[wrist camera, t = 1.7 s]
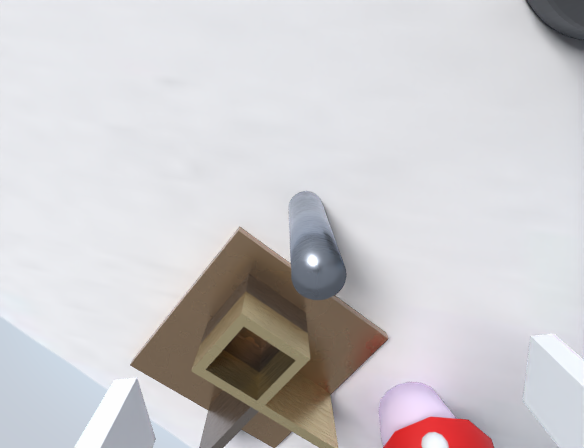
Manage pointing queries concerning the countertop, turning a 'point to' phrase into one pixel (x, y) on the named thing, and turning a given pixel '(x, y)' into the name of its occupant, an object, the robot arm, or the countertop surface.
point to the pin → (313, 249)
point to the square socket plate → (258, 349)
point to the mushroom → (424, 421)
